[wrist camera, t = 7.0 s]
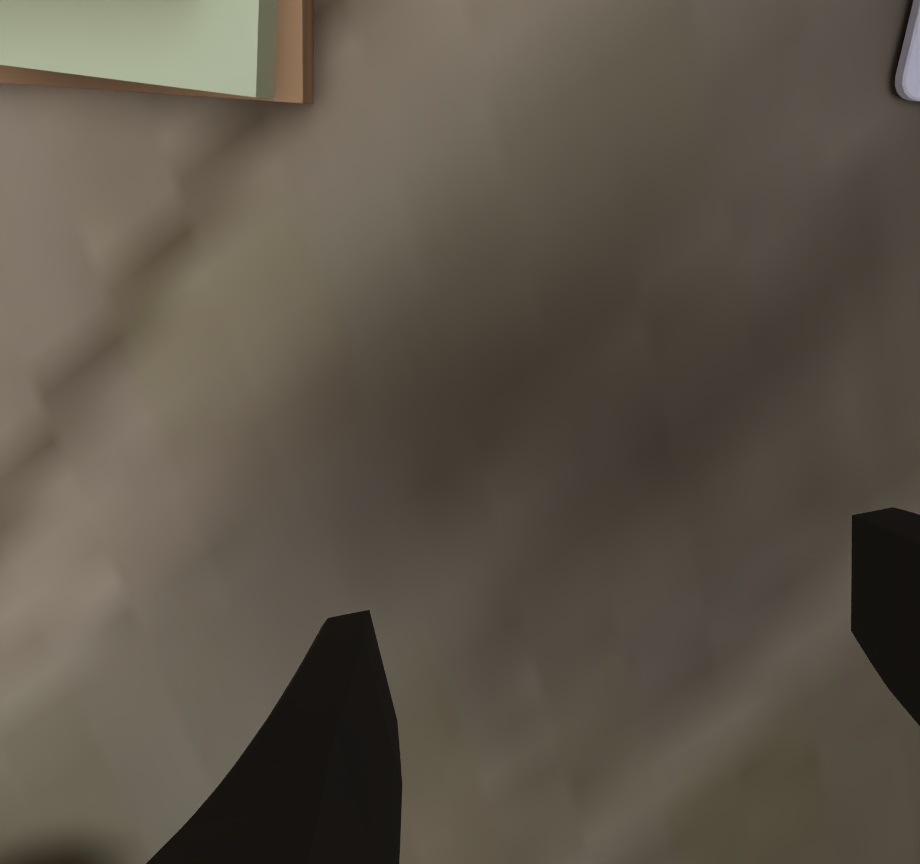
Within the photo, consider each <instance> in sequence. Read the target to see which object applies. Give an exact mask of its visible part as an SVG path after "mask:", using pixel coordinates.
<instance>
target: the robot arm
mask: <svg viewBox="0 0 920 864" xmlns="http://www.w3.org/2000/svg"><path fill="white" fill-rule="evenodd" d="M895 87H896V91H897V93H898V94H899V95H900V96H901V97H902V98H903V99H906V100H909V101H919V102H920V0H913V5H912V9H911V13H910V17H909V21H908V25H907V30H906V34H905V38H904V42H903V46H902V51H901V55H900V59H899V63H898V67H897V71H896V76H895ZM851 631H852V633H853V634H854V636H855V638H856V639H857V641H858V643H859V644H860V646H861V647H862V649H863V651H864V652H865V654H866V655H867V657H868V659H869V660H870V662H871V663H872V665H873V666H874V668H875V669H876V671H877V672H878V674H879V675H880V677H881V678H882V680H883V681H884V683H885V684H886V686H887V687H888V689H889V690H890V691H891V692H892V693H893V695H894V696H895V697H896V698H897V700H898V701H899V702H900V703H901V704H902V706H903V707H904V708H905V709H906V710H907V711H908V713H909V714H910V715H911V716H912V717H913V719H914V720H915V721H916V722H917V723H918V724H919V726H920V515H918V514H915V513H912V512H908V511H905V510H901V509H897V508H893V507H892V508H887V509H882V510H877V511H872V512H867V513H862V514H857V515H852V592H851ZM401 804H402V776H401V762H400V749H399V737H398V725H397V718H396V714H395V710H394V706H393V702H392V698H391V694H390V690H389V686H388V682H387V679H386V675H385V671H384V667H383V663H382V659H381V655H380V651H379V647H378V643H377V639H376V635H375V631H374V627H373V623H372V619H371V615H370V611H369V610H367V611H361V612H356V613H351V614H346V615H341V616H336V617H331V618H328V619H327V620H326V622H325V623H324V624H323V626H322V627H321V629H320V631H319V633H318V634H317V636H316V638H315V640H314V642H313V644H312V645H311V647H310V649H309V651H308V652H307V654H306V656H305V658H304V660H303V661H302V663H301V665H300V666H299V668H298V670H297V672H296V673H295V675H294V677H293V678H292V680H291V682H290V683H289V685H288V686H287V688H286V690H285V691H284V693H283V694H282V696H281V698H280V699H279V701H278V702H277V704H276V706H275V707H274V709H273V710H272V712H271V714H270V715H269V717H268V718H267V720H266V721H265V723H264V724H263V726H262V727H261V728H260V730H259V731H258V733H257V734H256V736H255V737H254V738H253V740H252V741H251V743H250V744H249V745H248V747H247V748H246V750H245V751H244V753H243V754H242V755H241V757H240V758H239V760H238V761H237V762H236V764H235V765H234V766H233V768H232V769H231V770H230V772H229V773H228V774H227V775H226V777H225V778H224V779H223V781H222V782H221V783H220V784H219V786H218V787H217V788H216V789H215V791H214V792H213V793H212V794H211V795H210V796H209V798H208V799H207V800H206V801H205V802H204V803H203V805H202V806H201V807H200V808H199V809H198V810H197V812H196V813H195V814H194V815H193V816H192V817H191V818H190V819H189V820H188V822H187V823H186V824H185V825H184V826H183V827H182V828H181V829H180V830H179V831H178V832H177V833H176V834H175V835H174V836H173V837H172V838H171V839H170V840H169V841H168V842H167V843H166V844H165V845H164V846H163V847H162V848H161V849H160V850H159V851H158V852H157V853H156V854H155V855H154V856H153V857H152V858H151V859H150V860H149V861H148V862H147V863H146V864H399V855H400V831H401Z"/></svg>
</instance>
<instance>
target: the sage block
mask: <svg viewBox="0 0 920 864" xmlns="http://www.w3.org/2000/svg"><path fill="white" fill-rule="evenodd" d="M276 25H277V0H0V65H6V66H14V67H22V68H30V69H37V70H45V71H53V72H61V73H69V74H76V75H84V76H92V77H100V78H108V79H116V80H123V81H131V82H139V83H147V84H155V85H162V86H170V87H178V88H186V89H194V90H202V91H209V92H217V93H225V94H233V95H241V96H248V97H256V98H269V99H274V77H275V51H276Z"/></svg>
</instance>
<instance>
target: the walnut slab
mask: <svg viewBox="0 0 920 864" xmlns="http://www.w3.org/2000/svg"><path fill="white" fill-rule="evenodd" d="M0 83H13V84H27V85H42V86H57V87H71V88H86V89H101V90H115V91H130V92H144V93H159V94H174V95H188V96H203V97H218V98H232V99H247V100H262V101H276V102H291V103H307V104H313V0H277V25H276V51H275V77H274V99H269V98H256V97H248V96H241V95H233V94H225V93H217V92H209V91H202V90H194V89H186V88H178V87H170V86H162V85H155V84H147V83H139V82H131V81H123V80H116V79H108V78H100V77H92V76H84V75H76V74H69V73H61V72H53V71H45V70H37V69H30V68H22V67H14V66H6V65H0Z"/></svg>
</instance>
